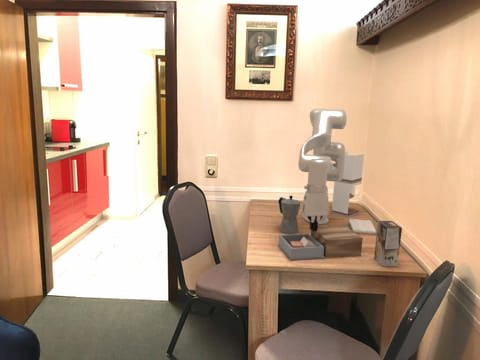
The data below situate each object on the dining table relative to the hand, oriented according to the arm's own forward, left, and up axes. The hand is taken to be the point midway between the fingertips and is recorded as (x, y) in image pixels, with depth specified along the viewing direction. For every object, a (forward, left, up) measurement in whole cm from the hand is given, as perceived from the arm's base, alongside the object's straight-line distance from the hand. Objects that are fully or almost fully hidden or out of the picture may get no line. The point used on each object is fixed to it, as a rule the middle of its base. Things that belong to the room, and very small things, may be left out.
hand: (313, 230), depth 163 cm
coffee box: (+15, +25, -10) cm, 31 cm away
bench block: (0, +10, -9) cm, 14 cm away
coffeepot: (-27, -2, -10) cm, 28 cm away
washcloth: (-25, +38, -10) cm, 46 cm away
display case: (-50, +41, -10) cm, 65 cm away
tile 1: (-1, -6, -6) cm, 9 cm away
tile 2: (+1, -2, -5) cm, 5 cm away
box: (0, -6, -9) cm, 11 cm away
